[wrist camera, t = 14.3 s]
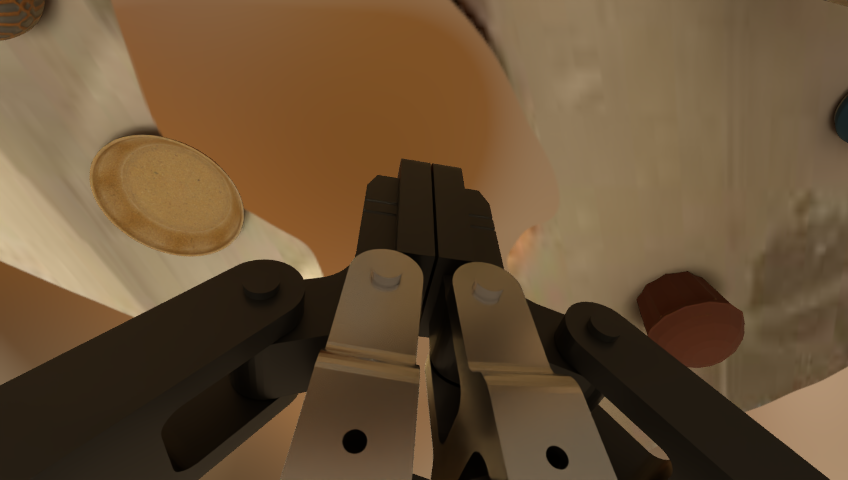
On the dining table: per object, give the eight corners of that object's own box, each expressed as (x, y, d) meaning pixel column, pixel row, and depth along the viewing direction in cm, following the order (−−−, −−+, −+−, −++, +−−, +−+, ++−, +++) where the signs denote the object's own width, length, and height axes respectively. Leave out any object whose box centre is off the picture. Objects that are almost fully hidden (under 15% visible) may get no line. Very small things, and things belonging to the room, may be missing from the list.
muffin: (732, 269, 57) (784, 329, 50) (687, 325, 64) (726, 386, 56) (648, 260, 56) (687, 320, 48) (611, 318, 63) (640, 379, 55)
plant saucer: (86, 200, 48) (72, 214, 46) (126, 93, 41) (112, 104, 39) (219, 260, 54) (211, 275, 52) (273, 176, 47) (267, 190, 45)
